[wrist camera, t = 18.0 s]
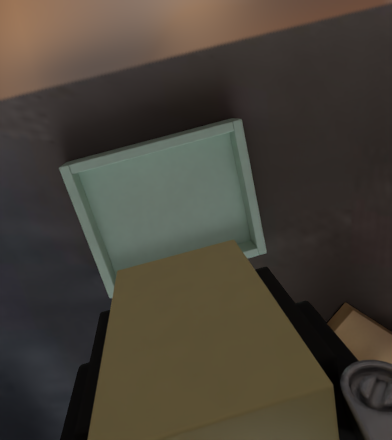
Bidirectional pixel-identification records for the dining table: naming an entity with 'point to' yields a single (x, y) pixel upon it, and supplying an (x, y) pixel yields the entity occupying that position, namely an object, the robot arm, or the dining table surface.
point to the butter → (206, 357)
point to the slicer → (362, 334)
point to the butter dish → (166, 197)
